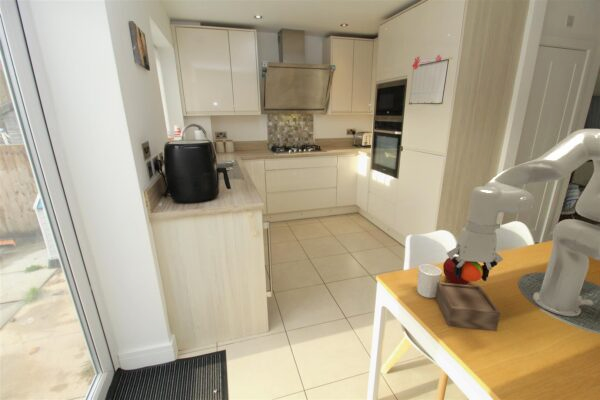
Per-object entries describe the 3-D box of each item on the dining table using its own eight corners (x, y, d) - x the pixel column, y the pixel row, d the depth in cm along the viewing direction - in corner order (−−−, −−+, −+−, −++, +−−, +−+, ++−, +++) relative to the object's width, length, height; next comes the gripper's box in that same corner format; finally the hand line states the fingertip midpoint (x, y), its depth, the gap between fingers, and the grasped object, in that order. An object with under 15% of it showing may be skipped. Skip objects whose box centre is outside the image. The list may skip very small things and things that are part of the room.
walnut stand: (476, 302, 100) (479, 286, 98) (496, 330, 87) (500, 312, 85) (435, 298, 102) (437, 282, 100) (448, 325, 89) (451, 307, 87)
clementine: (489, 286, 87) (493, 267, 85) (469, 289, 86) (473, 268, 84) (470, 273, 95) (474, 254, 93) (452, 275, 94) (455, 256, 92)
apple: (435, 282, 112) (439, 256, 109) (449, 273, 118) (453, 249, 115) (464, 296, 103) (469, 268, 100) (477, 286, 109) (482, 259, 106)
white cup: (440, 300, 101) (444, 276, 98) (417, 297, 103) (421, 274, 100) (435, 287, 108) (438, 265, 106) (413, 285, 110) (416, 263, 107)
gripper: (504, 224, 87) (493, 273, 92) (446, 220, 90) (438, 269, 95) (518, 233, 80) (505, 286, 85) (454, 229, 83) (445, 281, 88)
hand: (469, 277), depth 90 cm, fingers closed on clementine, 7 cm apart
